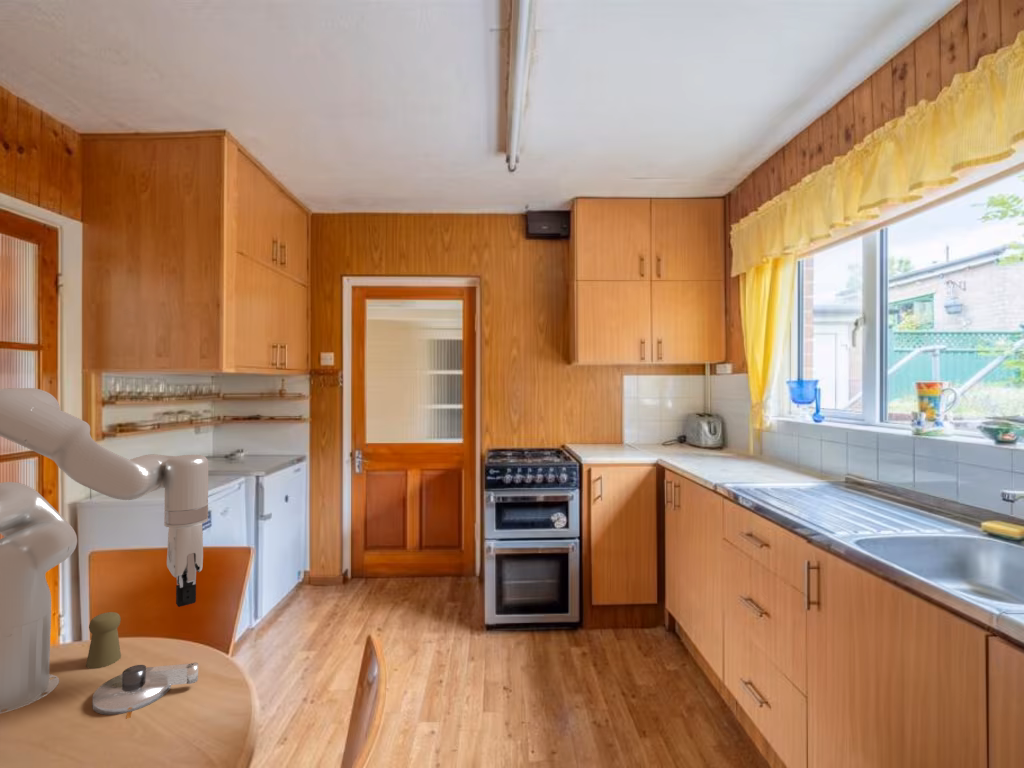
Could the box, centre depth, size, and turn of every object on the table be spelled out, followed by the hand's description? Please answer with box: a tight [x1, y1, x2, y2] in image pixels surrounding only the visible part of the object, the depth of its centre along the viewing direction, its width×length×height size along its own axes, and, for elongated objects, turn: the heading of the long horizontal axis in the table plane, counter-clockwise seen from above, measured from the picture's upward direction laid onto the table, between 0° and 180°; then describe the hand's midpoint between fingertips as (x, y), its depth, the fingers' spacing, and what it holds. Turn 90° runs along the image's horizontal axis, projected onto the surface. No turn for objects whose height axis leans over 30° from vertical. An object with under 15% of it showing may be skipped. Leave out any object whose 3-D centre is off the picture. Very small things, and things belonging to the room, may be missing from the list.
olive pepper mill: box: [86, 611, 122, 670], centre depth 104 cm, size 6×6×11 cm
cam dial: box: [92, 662, 199, 716], centre depth 94 cm, size 17×12×4 cm
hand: (186, 603), depth 100 cm, fingers closed
